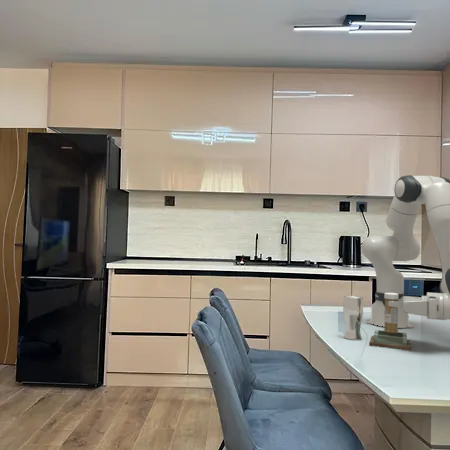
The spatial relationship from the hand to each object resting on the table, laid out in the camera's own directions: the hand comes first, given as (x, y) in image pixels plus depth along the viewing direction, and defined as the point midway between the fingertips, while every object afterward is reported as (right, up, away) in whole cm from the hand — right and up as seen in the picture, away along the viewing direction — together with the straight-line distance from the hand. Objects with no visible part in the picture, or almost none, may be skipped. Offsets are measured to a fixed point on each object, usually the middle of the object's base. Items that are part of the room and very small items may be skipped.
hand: (388, 302), depth 147 cm
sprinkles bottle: (+1, -10, -1) cm, 10 cm away
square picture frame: (0, -14, -1) cm, 14 cm away
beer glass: (-11, -14, +7) cm, 19 cm away
